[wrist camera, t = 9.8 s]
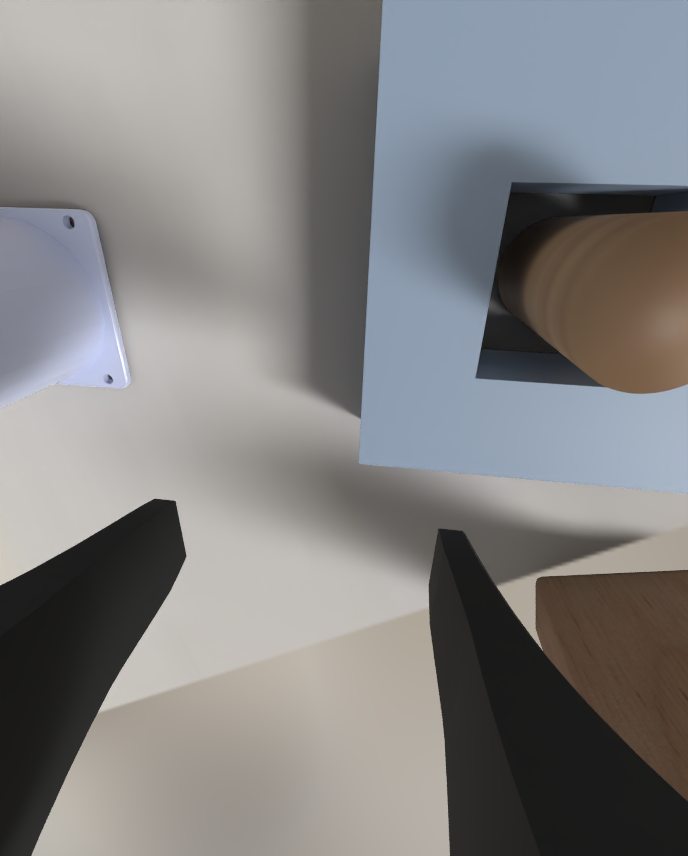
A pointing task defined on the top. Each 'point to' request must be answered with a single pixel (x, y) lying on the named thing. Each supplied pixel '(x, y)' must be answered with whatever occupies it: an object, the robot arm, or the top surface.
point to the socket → (484, 219)
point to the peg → (606, 295)
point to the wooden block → (625, 656)
